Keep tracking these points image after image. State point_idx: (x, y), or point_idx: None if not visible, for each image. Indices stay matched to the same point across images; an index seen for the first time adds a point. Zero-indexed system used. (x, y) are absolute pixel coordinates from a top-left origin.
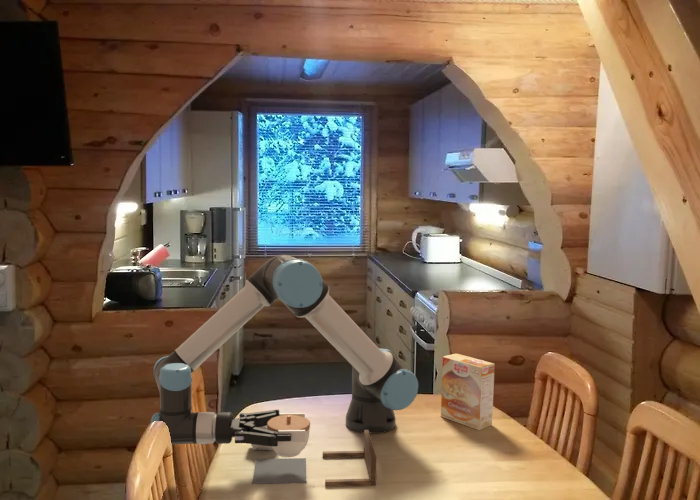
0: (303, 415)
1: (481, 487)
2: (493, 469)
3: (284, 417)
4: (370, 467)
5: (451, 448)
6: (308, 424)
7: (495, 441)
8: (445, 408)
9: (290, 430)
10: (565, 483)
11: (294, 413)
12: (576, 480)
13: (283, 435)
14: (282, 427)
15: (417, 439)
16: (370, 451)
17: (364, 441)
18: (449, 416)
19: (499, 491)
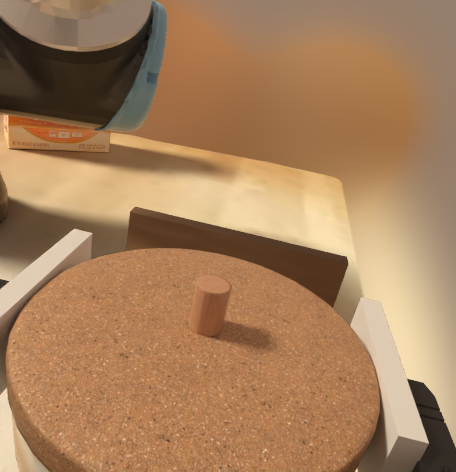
0: (89, 245)
1: (325, 224)
2: (262, 195)
3: (96, 322)
4: (319, 293)
5: (163, 191)
6: (264, 267)
7: (161, 160)
8: (23, 127)
9: (389, 360)
10: (312, 180)
11: (47, 260)
12: (304, 173)
13: (444, 430)
14: (326, 391)
15: (92, 199)
16: (302, 251)
17: (147, 244)
18: (35, 142)
19: (338, 218)
